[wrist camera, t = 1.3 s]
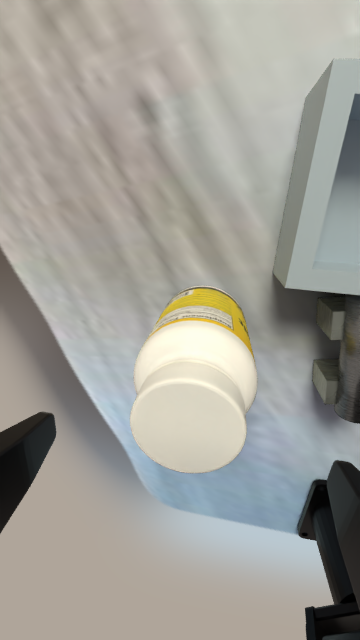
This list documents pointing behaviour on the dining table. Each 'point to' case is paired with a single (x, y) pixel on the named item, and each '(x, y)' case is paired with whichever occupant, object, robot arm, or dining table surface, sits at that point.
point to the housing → (325, 189)
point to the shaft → (354, 361)
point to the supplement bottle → (195, 383)
